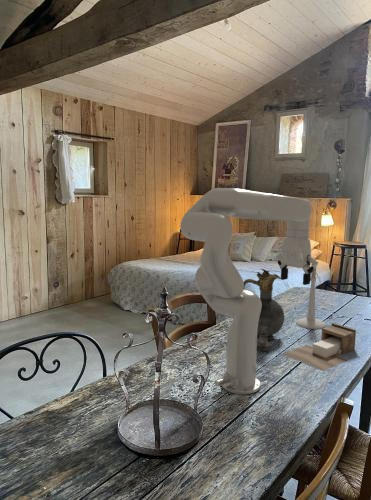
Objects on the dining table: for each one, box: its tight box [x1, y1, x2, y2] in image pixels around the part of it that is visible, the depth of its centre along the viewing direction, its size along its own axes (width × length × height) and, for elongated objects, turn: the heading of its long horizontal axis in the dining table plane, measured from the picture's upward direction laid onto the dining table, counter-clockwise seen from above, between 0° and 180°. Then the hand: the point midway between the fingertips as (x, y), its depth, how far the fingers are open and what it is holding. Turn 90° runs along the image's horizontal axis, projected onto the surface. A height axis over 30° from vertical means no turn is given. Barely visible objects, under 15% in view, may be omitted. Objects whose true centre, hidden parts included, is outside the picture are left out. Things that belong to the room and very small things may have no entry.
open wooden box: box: [282, 322, 357, 372], centre depth 155 cm, size 26×18×9 cm
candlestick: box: [296, 268, 326, 330], centre depth 189 cm, size 13×13×30 cm
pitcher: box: [243, 268, 285, 341], centre depth 173 cm, size 11×19×30 cm, turn 56°
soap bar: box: [312, 336, 342, 357], centre depth 158 cm, size 15×6×4 cm, turn 127°
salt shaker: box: [257, 323, 272, 352], centre depth 157 cm, size 6×6×12 cm
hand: (295, 281), depth 145 cm, fingers open, 9 cm apart
